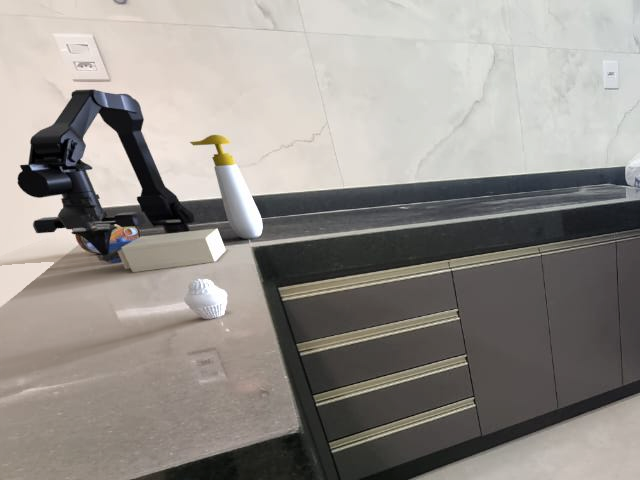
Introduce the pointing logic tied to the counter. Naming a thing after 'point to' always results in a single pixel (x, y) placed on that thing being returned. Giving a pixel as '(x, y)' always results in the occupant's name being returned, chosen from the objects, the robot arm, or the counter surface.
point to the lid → (118, 246)
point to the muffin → (206, 299)
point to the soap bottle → (234, 192)
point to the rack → (117, 254)
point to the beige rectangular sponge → (174, 250)
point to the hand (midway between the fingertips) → (106, 257)
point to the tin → (116, 233)
